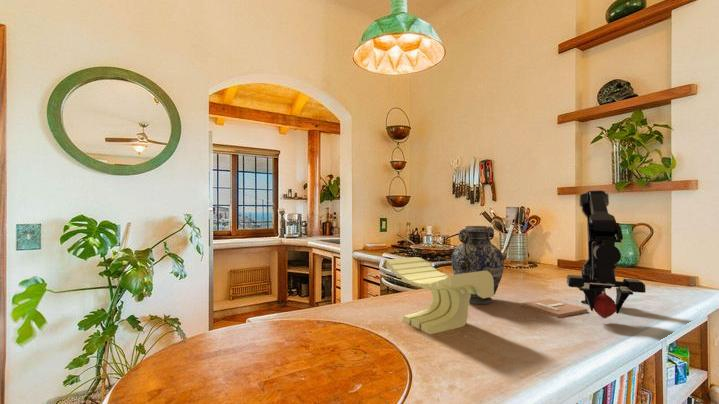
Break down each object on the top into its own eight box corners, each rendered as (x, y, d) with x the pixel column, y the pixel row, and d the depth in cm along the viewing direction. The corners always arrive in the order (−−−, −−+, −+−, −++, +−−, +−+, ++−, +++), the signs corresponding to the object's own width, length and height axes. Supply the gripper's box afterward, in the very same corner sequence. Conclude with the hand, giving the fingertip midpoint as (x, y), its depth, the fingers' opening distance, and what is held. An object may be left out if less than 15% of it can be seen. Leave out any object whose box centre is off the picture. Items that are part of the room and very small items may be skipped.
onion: (620, 322, 99) (620, 294, 99) (598, 320, 100) (598, 293, 101) (610, 315, 105) (609, 289, 105) (589, 314, 106) (588, 289, 106)
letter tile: (549, 301, 126) (549, 297, 126) (587, 311, 113) (587, 308, 113) (521, 305, 121) (521, 302, 121) (558, 317, 108) (558, 313, 108)
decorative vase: (485, 311, 114) (483, 227, 115) (440, 300, 129) (438, 226, 129) (516, 300, 127) (514, 225, 128) (472, 292, 142) (470, 224, 143)
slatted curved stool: (494, 333, 95) (493, 269, 95) (451, 345, 87) (450, 275, 87) (424, 306, 121) (424, 256, 121) (386, 313, 113) (386, 259, 114)
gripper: (633, 258, 106) (634, 308, 106) (564, 254, 114) (565, 301, 114) (645, 263, 96) (646, 319, 96) (568, 259, 104) (569, 311, 104)
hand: (604, 311), depth 103 cm, fingers closed on onion, 6 cm apart
